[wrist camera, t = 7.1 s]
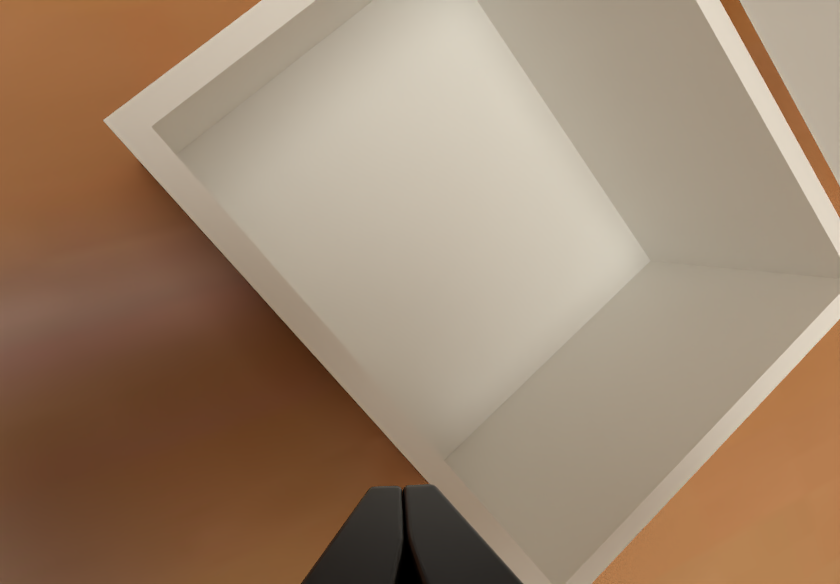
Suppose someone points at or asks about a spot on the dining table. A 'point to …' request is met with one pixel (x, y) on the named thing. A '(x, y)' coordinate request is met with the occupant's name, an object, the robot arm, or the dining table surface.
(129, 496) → the dining table surface
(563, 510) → the carton
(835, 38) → the carton flap
